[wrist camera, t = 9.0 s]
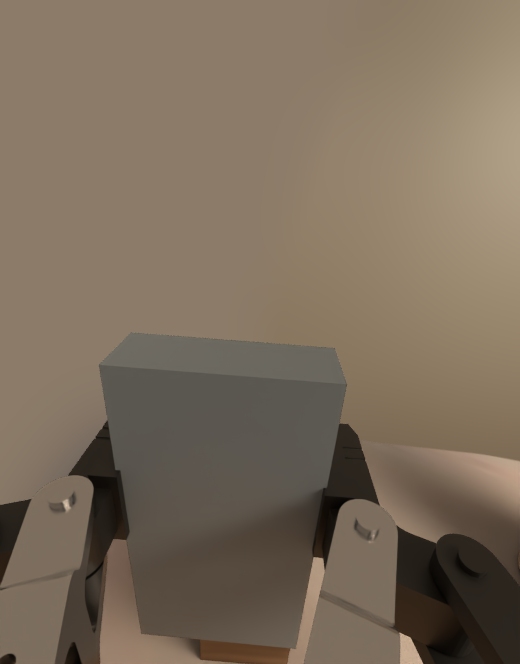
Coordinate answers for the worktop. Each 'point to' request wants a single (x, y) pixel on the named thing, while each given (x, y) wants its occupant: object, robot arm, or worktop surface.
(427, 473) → the worktop surface
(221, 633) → the domino
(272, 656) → the domino
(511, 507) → the worktop surface
